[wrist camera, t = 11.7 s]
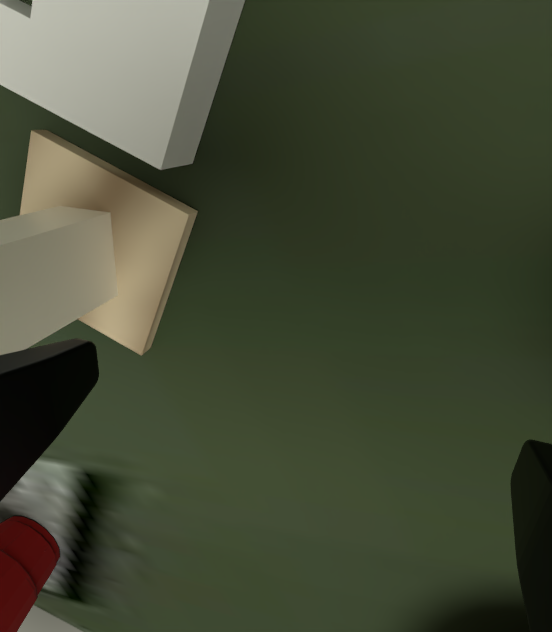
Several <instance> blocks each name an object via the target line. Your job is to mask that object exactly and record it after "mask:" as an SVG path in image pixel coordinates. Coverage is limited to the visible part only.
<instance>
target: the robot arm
mask: <svg viewBox="0 0 552 632" xmlns="http://www.w3.org/2000/svg"><path fill="white" fill-rule="evenodd" d="M98 377H99V369H98V360H97V351H96V346H95V344H94V343H93V342H91V341H87V340H82V339H71V340H66V341H62V342H57V343H53V344H48V345H44V346H39V347H35V348H30V349H26V350H21V351H17V352H12V353H8V354H3V355H0V501H1V500H2V499H3V498H4V497H5V495H6V494H7V493H8V492H9V491H10V490H11V489H12V488H13V486H14V485H15V484H16V483H17V482H18V481H19V480H20V478H21V477H22V476H23V475H24V474H25V473H26V472H27V471H28V469H29V468H30V467H31V466H32V465H33V464H34V463H35V462H36V460H37V459H38V458H39V457H40V456H41V455H42V454H43V453H44V451H45V450H46V449H47V448H48V447H49V446H50V445H51V443H52V442H53V441H54V440H55V439H56V437H57V436H58V435H59V434H60V432H61V431H62V430H63V428H64V427H65V426H66V424H67V423H68V422H69V420H70V419H71V418H72V416H73V415H74V413H75V412H76V411H77V409H78V408H79V407H80V405H81V404H82V402H83V401H84V400H85V398H86V397H87V396H88V394H89V393H90V391H91V390H92V389H93V387H94V386H95V384H96V383H97V380H98ZM511 498H512V511H513V523H514V536H515V549H516V559H517V568H518V573H519V579H520V584H521V589H522V594H523V599H524V604H525V609H526V614H527V619H528V624H529V629H530V632H552V444H549V443H545V442H540V441H536V440H527V441H526V442H525V443H524V445H523V447H522V449H521V452H520V454H519V457H518V460H517V462H516V465H515V467H514V470H513V473H512V476H511Z"/></svg>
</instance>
